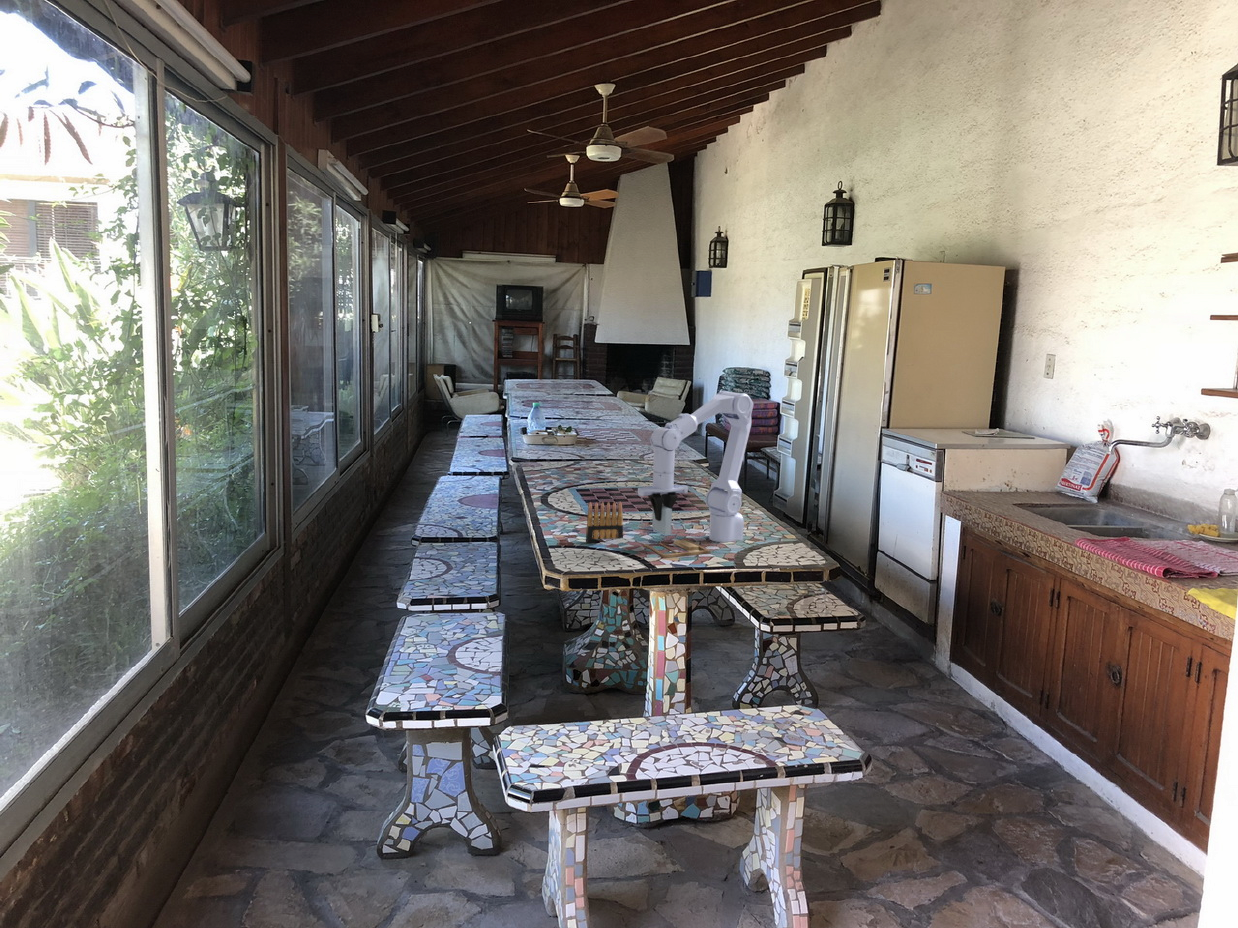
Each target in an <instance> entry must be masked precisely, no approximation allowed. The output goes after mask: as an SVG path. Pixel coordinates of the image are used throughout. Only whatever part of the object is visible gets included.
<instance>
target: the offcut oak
mask: <svg viewBox="0 0 1238 928" xmlns="http://www.w3.org/2000/svg"><path fill="white" fill-rule="evenodd" d="M673 544H674V545H676V546H677V547H680V548H681V547H683V548H685V549H687V550H689V551H691V550H699V546H697V545H694V544H692V543H690V542H688V541H686V540H684V539H677V540H673ZM683 548H682V549H683ZM685 549H684V550H685ZM687 550H686V551H687ZM689 551H688V552H689Z"/></svg>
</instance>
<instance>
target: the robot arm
mask: <svg viewBox="0 0 1238 928" xmlns="http://www.w3.org/2000/svg"><path fill="white" fill-rule="evenodd" d="M754 404H755V403H754V402H753V400H752V398H751V397H750V396H749V394H747V393H745V392H743V393H739V392H734V391H733V392H732V391H727V390H721V391H719V392H717V393H716V394H714V395H713V396H712V398H711V399H710V400H709V401H707V402H705V403H704V404H703V405H702V406H700V407H699V408H697V409H696V410H695V411H694V412H693V413H691V414H689V413H680V414H678V415H677V416H678V417H677V418H675V419H674V420H672V421H670V422H667V423H665V426H664V427H663V426H661V427H660V426H659V427H656V428H655V429H654V430H653V431H652V433H651V435H650V437H649V442H650V444H651V446H652V452H653V471H652V474H653V475H652V485H651V486H650V485H649V486H645V487H644V486H643V487H638V488H637V495H638V496H639V497H644V496H648V500H649V501H650V503H651V506H652V511H653V510H654V514H655V519H656V520H658V521H661V514H662V505H663V506H666V507H668V508H670V509H672V510H673V507H674V505H675V503H676V501H677V500H678V498H679V497H678V494H688V493H689V492H688V491H689V486H688V485H685V484H679V485H678V484H675V459H676V458H675V456H676V455H675V453H676V449H678V447H679V445H680V443H681V442H682V441H683V440H684V439H685V438H687V437H689V436H691V435H692V434H693V433H694V432H697V430H698V425H699V424H702V423H703V422H705V421H707V420H709V419H710V418H712V417H714V416H716V415H718V414H721V415H722V416H724V418H725V419H726V420H727V422H729V424H730V426H731V427H730V431H729V434H728V439H727V442H726V446H725V451H724V455H723V458H722V463H721V467H720V471H719V475H718V478H717V479H715V480H714V481H713V482H712V483H711V484H710V485H711V486H710V488H709V490H708V492H707V493H706V496H705V499H704V500H705V504H706V506H707V507H708V511H709V515H710V516H709V517H710V518H709V535H708V539H709V540H711V541H713V542H718V543H730V542H735V541H743V540H744V527H745V523H744V517H743V515H742V514H741V513H740V512H739V511H740V509H741V507H742V493H743V491H742V489H741V487H740V485H739V483H738V481H739V476H740V472H741V468H742V464H743V461H744V456H745V453H746V448H747V443H748V440H749V437H750V432H751V428H752V412H753V409H754Z"/></svg>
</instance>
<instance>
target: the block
mask: <svg viewBox="0 0 1238 928" xmlns="http://www.w3.org/2000/svg"><path fill="white" fill-rule="evenodd" d="M651 519H652V522H651V523H652V525H651V528H652V530H655V531H657V532H658V533H660V534H663V535H665V536H670V535H672V521H673V520H672V519H673V508H672V509H670V508H668V507H666V506H663V504H662V514H661V521H658V520H656V519H655V514H654V510H653V509H652V518H651Z"/></svg>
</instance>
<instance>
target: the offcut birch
mask: <svg viewBox="0 0 1238 928" xmlns="http://www.w3.org/2000/svg"><path fill="white" fill-rule="evenodd" d="M680 548H681V549H684V550H685V551H686V552H692V551H701V550H691V551H689V550H687V549H685V548H683V547H680Z"/></svg>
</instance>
